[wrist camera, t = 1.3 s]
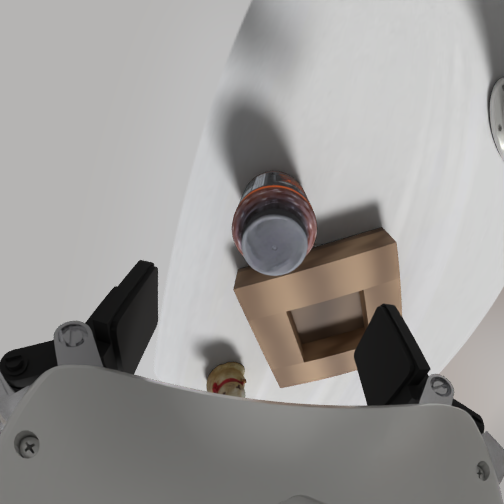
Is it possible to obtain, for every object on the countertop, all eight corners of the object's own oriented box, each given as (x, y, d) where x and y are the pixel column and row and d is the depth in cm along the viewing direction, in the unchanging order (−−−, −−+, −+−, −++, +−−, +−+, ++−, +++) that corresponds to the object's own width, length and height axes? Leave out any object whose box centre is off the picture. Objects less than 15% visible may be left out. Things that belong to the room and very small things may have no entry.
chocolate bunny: (259, 378, 38) (255, 437, 29) (215, 390, 40) (204, 443, 31) (240, 356, 36) (231, 417, 27) (194, 369, 38) (178, 425, 29)
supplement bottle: (317, 196, 26) (346, 243, 16) (278, 240, 28) (280, 307, 18) (269, 156, 25) (268, 177, 15) (230, 204, 27) (205, 254, 17)
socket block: (382, 227, 27) (396, 242, 23) (392, 335, 33) (401, 355, 29) (237, 269, 30) (233, 289, 27) (280, 365, 36) (280, 388, 33)
